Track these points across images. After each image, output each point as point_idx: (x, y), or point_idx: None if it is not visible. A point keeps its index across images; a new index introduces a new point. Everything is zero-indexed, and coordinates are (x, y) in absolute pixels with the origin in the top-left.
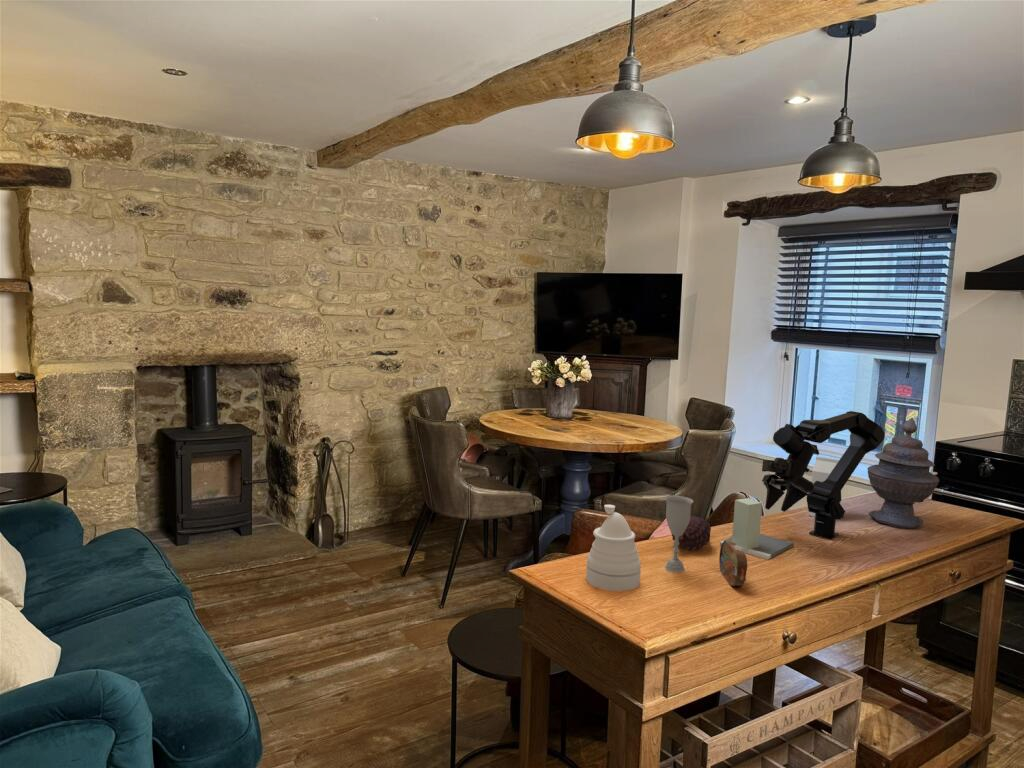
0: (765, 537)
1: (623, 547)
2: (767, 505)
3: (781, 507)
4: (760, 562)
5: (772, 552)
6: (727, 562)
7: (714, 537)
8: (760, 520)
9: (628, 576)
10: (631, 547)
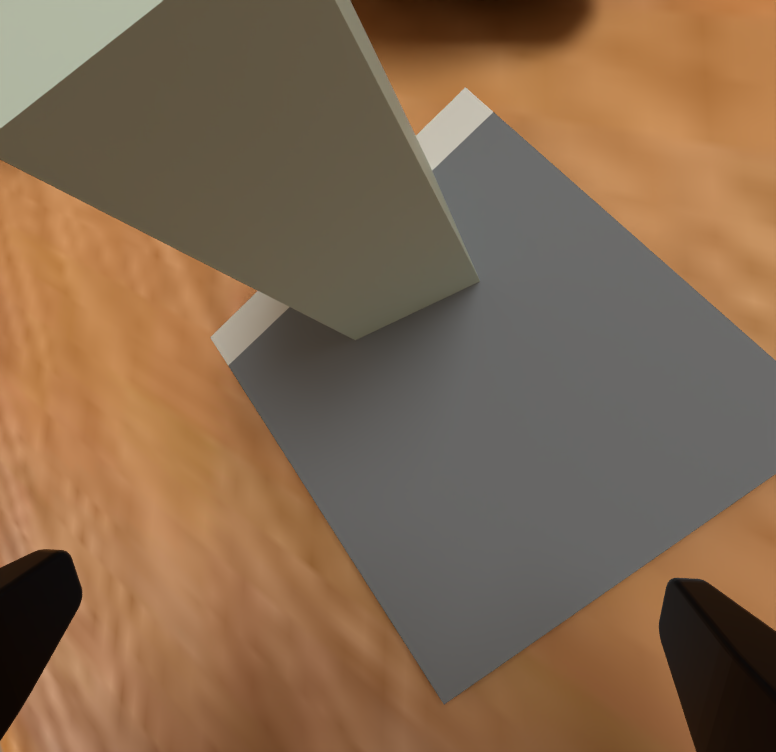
0: (585, 512)
1: None
2: (695, 638)
3: (23, 569)
4: (197, 281)
5: (257, 393)
6: None
7: (670, 95)
8: (221, 269)
9: None
10: None
